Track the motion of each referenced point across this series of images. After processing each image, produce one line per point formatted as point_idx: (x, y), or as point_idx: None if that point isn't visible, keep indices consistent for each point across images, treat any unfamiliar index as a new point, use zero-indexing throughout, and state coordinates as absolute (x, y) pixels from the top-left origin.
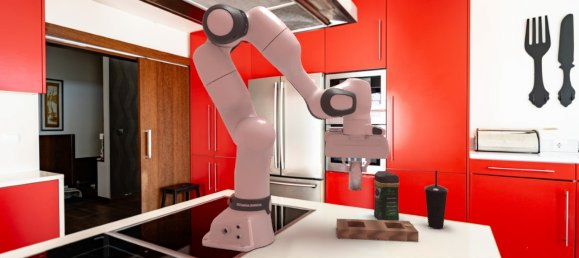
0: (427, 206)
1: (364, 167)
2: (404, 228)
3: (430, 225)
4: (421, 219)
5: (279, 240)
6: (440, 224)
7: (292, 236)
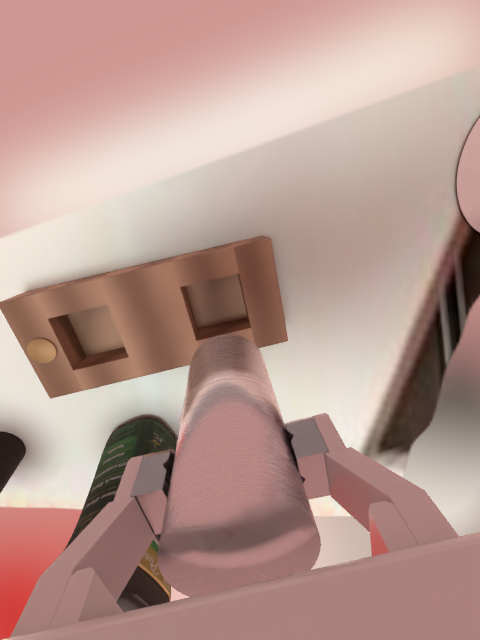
0: None
1: (139, 490)
2: (52, 325)
3: (12, 441)
4: (53, 488)
5: (439, 184)
6: None
7: (403, 231)
